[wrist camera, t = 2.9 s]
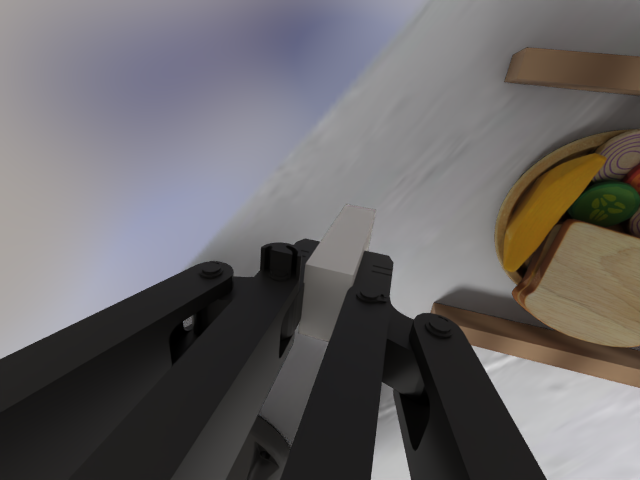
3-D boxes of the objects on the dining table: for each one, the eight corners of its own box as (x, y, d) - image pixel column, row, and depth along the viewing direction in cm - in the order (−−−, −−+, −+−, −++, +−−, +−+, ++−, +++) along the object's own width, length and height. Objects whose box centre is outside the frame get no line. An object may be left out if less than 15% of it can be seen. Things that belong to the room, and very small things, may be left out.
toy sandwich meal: (770, 178, 18) (878, 198, 14) (599, 335, 24) (640, 382, 20) (567, 96, 19) (612, 92, 15) (451, 266, 25) (459, 297, 21)
